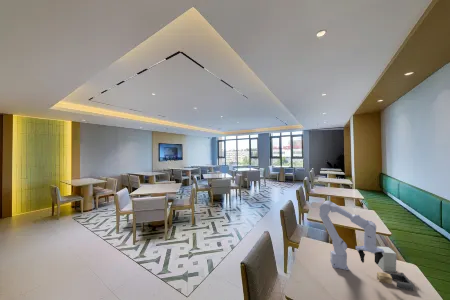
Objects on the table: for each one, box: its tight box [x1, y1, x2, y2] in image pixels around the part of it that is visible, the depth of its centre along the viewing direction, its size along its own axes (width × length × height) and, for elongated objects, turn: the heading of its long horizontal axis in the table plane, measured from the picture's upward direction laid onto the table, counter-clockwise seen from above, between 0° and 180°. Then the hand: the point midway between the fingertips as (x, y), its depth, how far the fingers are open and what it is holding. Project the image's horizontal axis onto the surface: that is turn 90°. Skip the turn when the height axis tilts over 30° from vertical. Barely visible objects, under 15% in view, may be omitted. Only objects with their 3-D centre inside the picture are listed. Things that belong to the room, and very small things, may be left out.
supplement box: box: [376, 245, 397, 273], centre depth 118 cm, size 7×7×13 cm
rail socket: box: [389, 272, 415, 292], centre depth 106 cm, size 7×10×3 cm
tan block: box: [376, 271, 393, 285], centre depth 108 cm, size 6×3×4 cm, turn 70°
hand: (369, 262), depth 111 cm, fingers open, 7 cm apart
